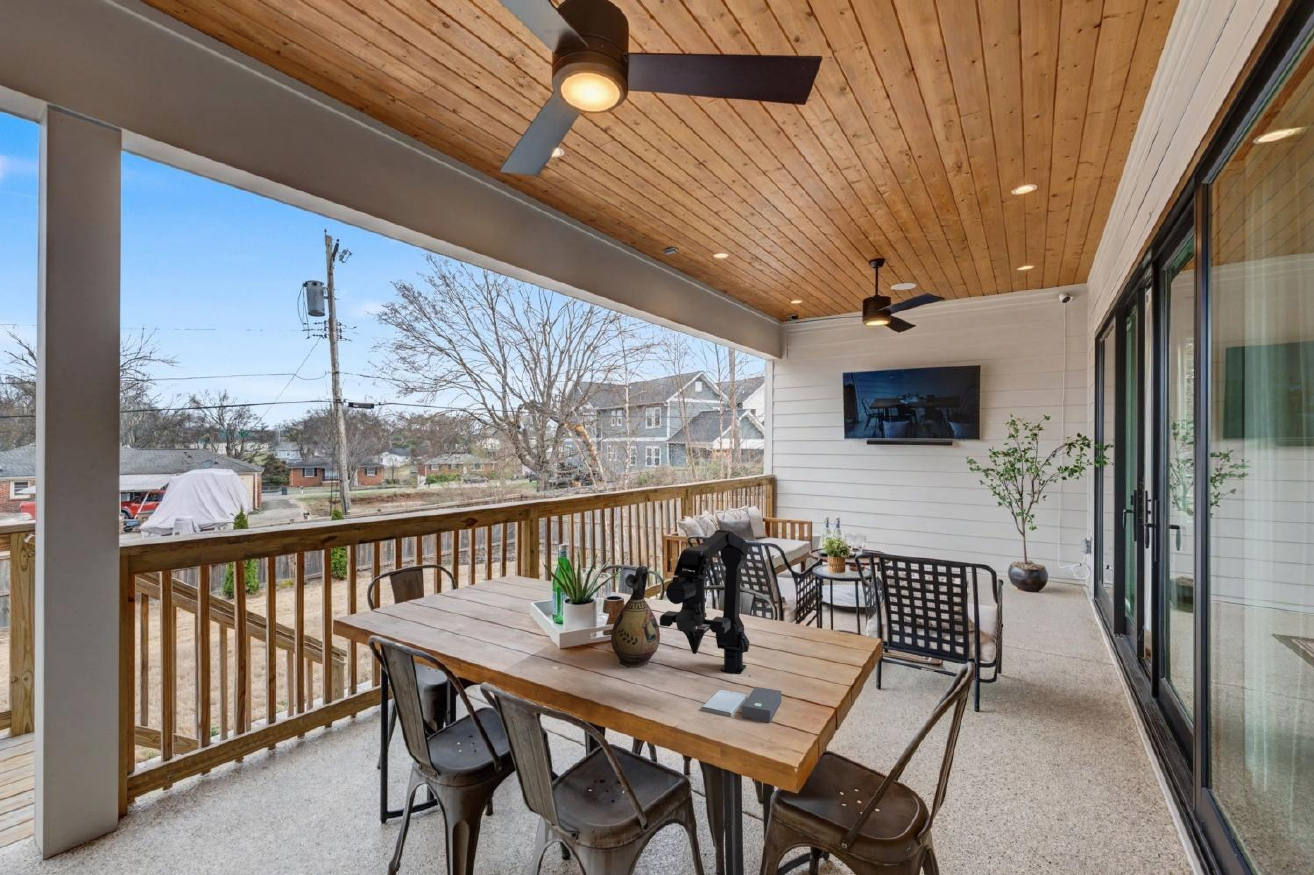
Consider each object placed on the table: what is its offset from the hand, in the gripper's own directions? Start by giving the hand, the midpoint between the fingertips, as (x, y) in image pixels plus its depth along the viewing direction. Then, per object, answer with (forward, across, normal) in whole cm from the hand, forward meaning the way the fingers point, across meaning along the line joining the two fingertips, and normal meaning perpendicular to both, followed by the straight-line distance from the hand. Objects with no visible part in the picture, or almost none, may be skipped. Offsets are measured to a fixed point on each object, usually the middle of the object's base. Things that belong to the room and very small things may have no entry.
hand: (694, 653), depth 161 cm
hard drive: (+13, +9, -1) cm, 15 cm away
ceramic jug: (+12, -26, +18) cm, 34 cm away
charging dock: (+12, +19, 0) cm, 22 cm away
